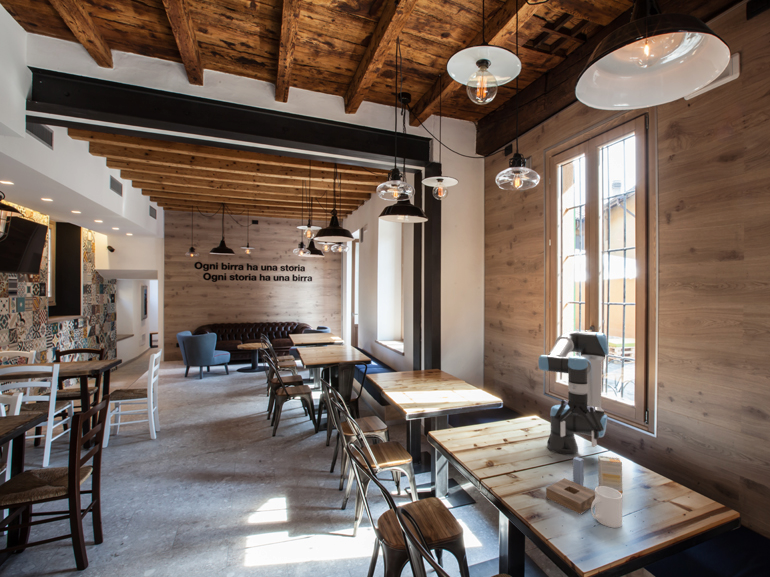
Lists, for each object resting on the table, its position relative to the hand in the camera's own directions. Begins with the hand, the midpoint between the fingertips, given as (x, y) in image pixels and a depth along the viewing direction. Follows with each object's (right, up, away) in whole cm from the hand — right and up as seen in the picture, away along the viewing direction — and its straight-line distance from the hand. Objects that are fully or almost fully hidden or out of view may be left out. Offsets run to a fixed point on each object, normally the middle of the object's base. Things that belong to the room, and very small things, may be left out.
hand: (578, 441), depth 161 cm
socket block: (-8, -20, -11) cm, 24 cm away
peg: (0, -20, 0) cm, 20 cm away
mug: (-3, -20, -25) cm, 32 cm away
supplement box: (+13, -20, -2) cm, 24 cm away
